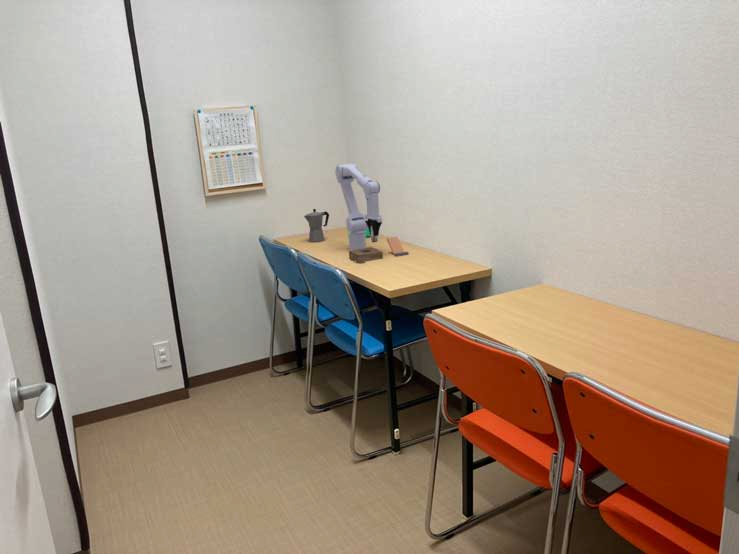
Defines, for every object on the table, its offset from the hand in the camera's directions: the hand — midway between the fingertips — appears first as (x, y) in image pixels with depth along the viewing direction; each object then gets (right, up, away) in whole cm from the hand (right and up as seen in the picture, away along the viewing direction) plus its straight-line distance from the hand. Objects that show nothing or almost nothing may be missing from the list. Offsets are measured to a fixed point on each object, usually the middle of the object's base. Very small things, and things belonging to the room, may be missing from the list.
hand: (374, 235), depth 283 cm
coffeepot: (-31, 0, +45) cm, 55 cm away
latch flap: (+10, -6, +1) cm, 12 cm away
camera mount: (-8, +2, +47) cm, 48 cm away
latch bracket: (+13, -10, -3) cm, 17 cm away
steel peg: (0, -3, +1) cm, 3 cm away
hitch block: (-4, -12, -5) cm, 13 cm away
